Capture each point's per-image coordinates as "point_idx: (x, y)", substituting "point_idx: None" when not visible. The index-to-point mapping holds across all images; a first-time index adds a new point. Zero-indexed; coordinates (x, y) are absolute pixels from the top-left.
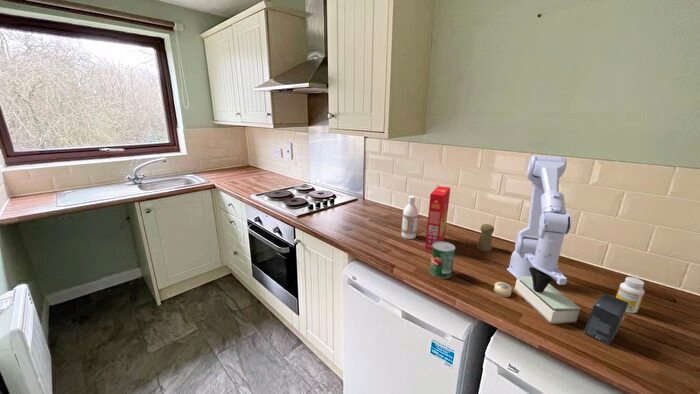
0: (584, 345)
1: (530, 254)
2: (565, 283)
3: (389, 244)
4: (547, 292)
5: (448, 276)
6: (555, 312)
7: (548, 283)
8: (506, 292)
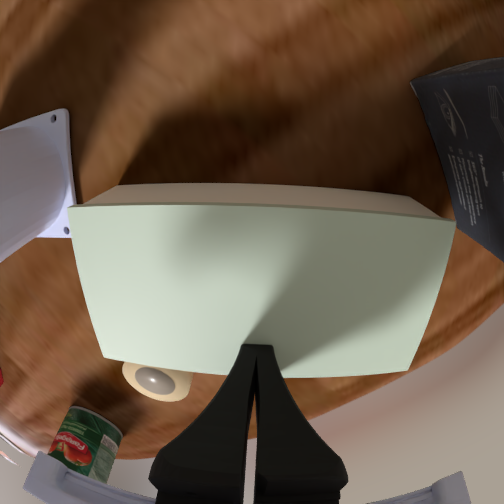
0: (478, 275)
1: (36, 490)
2: (462, 479)
3: (27, 422)
4: (277, 317)
5: (113, 428)
6: None
7: (296, 408)
8: (190, 382)
